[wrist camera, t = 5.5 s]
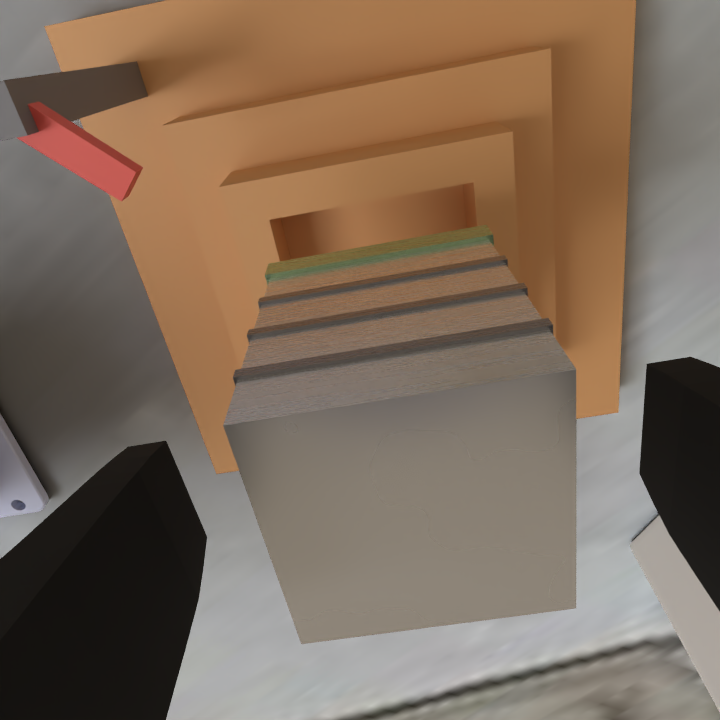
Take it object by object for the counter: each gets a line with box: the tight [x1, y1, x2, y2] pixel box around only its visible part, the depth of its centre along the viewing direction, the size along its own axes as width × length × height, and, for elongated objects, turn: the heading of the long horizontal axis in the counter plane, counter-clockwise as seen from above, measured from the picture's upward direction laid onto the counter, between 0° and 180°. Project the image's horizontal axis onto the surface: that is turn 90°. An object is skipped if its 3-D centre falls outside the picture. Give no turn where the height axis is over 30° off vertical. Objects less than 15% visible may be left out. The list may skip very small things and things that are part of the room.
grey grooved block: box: [223, 225, 576, 644], centre depth 10 cm, size 4×4×5 cm
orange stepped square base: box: [0, 0, 636, 474], centre depth 15 cm, size 14×14×8 cm
